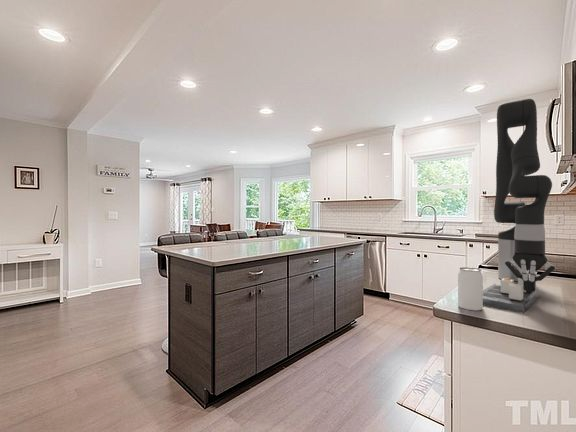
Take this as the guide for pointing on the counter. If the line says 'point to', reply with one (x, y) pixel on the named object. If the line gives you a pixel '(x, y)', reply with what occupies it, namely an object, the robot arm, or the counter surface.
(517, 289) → the block
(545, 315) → the counter surface
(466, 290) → the can
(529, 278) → the block
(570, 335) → the counter surface
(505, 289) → the block
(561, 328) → the counter surface
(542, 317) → the counter surface
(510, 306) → the panel
